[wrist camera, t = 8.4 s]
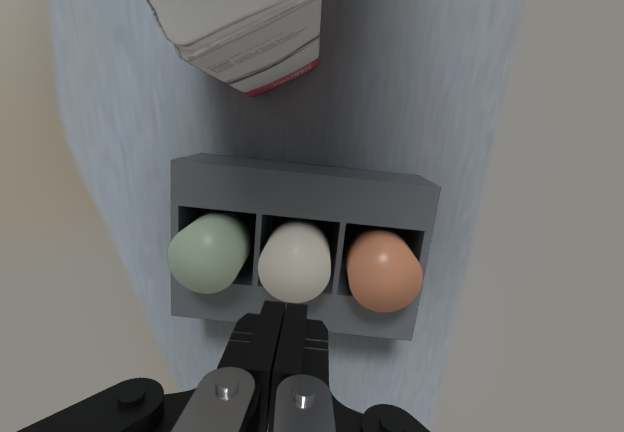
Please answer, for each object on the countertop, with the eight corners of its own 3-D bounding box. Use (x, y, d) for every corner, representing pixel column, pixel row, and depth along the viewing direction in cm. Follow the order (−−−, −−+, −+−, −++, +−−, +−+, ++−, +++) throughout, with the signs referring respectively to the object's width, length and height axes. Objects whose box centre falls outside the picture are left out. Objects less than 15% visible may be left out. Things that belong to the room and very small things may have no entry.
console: (200, 153, 23) (170, 159, 18) (418, 175, 23) (440, 187, 18) (197, 282, 25) (171, 315, 21) (396, 303, 25) (411, 340, 20)
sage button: (189, 207, 20) (167, 221, 17) (253, 214, 20) (241, 229, 17) (189, 266, 21) (167, 289, 18) (250, 273, 21) (238, 297, 18)
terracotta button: (349, 224, 20) (353, 240, 17) (413, 230, 20) (428, 248, 17) (341, 282, 21) (344, 308, 18) (403, 289, 21) (416, 316, 18)
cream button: (269, 215, 20) (260, 231, 17) (333, 222, 20) (334, 238, 17) (265, 274, 21) (255, 299, 18) (326, 281, 21) (326, 306, 18)
